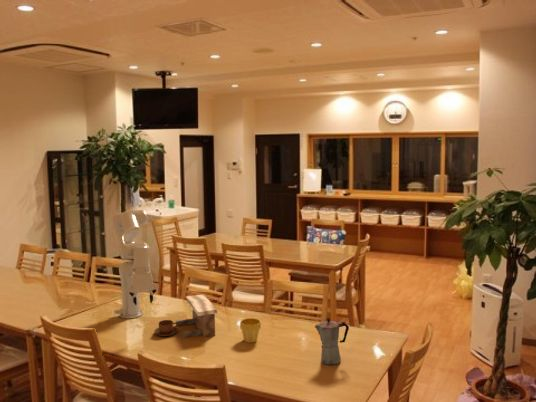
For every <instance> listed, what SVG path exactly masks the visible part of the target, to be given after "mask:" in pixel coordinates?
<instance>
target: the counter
mask: <svg viewBox="0 0 536 402" xmlns="http://www.w3.org/2000/svg"><path fill="white" fill-rule="evenodd" d="M185 298H186V299H185V300H186V302H187V303H188V304H189V306H190V307H191V311H192V314H191V315H192V318H187V319H179V320H175V322H176V323H177V324H178V326H177V327H179V326H180V327H181V326H187V325H193V324H194V325H195V326H196V328H197V329H195V330H193V329H192V330H188V331H187V330H186V331H182V338H190V337H197V336H203V338H208V337H214V336H216V319H215V317H216V314H218V309H217V308H216V306H214V305H213V303H212V302H211V301H210V299H209V298H207V296H206V295H205V294H196V295H189V296H186V297H185Z"/></svg>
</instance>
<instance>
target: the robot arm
mask: <svg viewBox="0 0 536 402" xmlns="http://www.w3.org/2000/svg"><path fill="white" fill-rule="evenodd" d="M111 219H112V226H113V228H114V231H115V234H116V235H117V239H118V241H117V243H118V250H119V256H120V258H121V259H122V260H131V261H125V262H122V263H120V265H119V267H118V272H119V278H120V283H121V303H122V304H121V305H122V306H121V308H120V309H115V310H114V309H113V310H114V311H113V312H114V314H116V315H118V314H119V316H120V318H122V319H127V320H128V319H129V320H130V319H136V318H139V317H142V316H143V311H142V310H140V293H149V303H150V304H152V303H153V301H154V294H155V293H156V292H157V291H158V290H159V288H160V287H159V285H158V284H156V283H155V282H154V279H153V275H152V271H151V263H150V254H149V253H150V246H149V244H148V243H147V242H146V241H135V240H134V239H136V238H137V237H138V236H140V234H141V227H142V226H145V225H147V224H148V223H149V217H148V214H147V212H146V210H144V209H135V210H134V209H133V210H126V211H123V212H118V213H115V214H114V215H112V218H111Z"/></svg>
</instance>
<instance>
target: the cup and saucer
mask: <svg viewBox="0 0 536 402" xmlns="http://www.w3.org/2000/svg"><path fill="white" fill-rule="evenodd" d="M174 324H175V326H174ZM178 327H179V326H178V324H177V323H176V321H174V322H173V320H172V319H163V320H159V321H158V327H157V328H156V329H155V330H154V331H153V332H154V334H155V335H157V336H159V337H160V336H161V337H168V336H173V335H174V334H176V333H178V331H179V330H178Z"/></svg>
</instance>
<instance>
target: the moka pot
mask: <svg viewBox="0 0 536 402" xmlns="http://www.w3.org/2000/svg"><path fill="white" fill-rule="evenodd" d="M342 327H345V331H344V334H343V338H342V340H339V337H340V336H339V335H340V334H339V333H340V328H342ZM314 328H315V329H316V330H317V333H318V334H319V338H320V342H321V355H320V357H321V359H320V362H321V363H323V364H324V365H326V366H327V365H329V366H333V365H337V364H340V363H341V360H342V358H341V353H340V349H339V343H340V344H341V343H342V344H343V343H345V342H346V339H347V336H348V332H349V329H350V327H349V325H348V324H347V322H345V321H342V322H336V321H333V320H332V321H331V319H330V318H326V321H321V322H319V323H318V324H315V326H314Z"/></svg>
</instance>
